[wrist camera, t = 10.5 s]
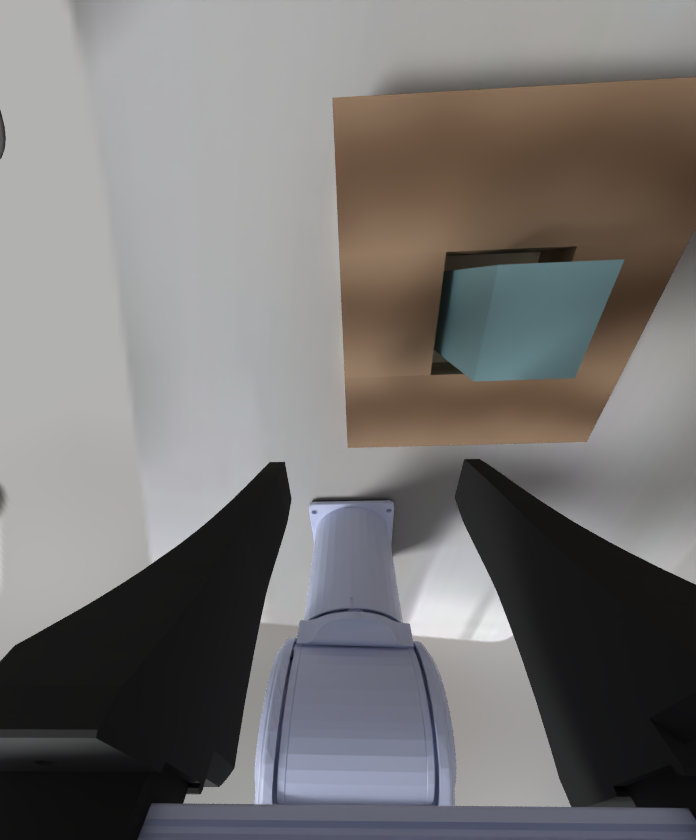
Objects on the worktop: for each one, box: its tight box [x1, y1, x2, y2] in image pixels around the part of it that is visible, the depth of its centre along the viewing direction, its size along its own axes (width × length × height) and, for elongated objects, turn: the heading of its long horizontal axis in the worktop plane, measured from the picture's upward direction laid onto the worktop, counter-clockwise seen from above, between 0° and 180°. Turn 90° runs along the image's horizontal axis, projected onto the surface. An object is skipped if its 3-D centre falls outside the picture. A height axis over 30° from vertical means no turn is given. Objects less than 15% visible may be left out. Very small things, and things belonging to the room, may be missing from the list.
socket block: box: [333, 77, 696, 448], centre depth 14 cm, size 16×16×3 cm
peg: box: [434, 259, 625, 381], centre depth 13 cm, size 4×4×6 cm
